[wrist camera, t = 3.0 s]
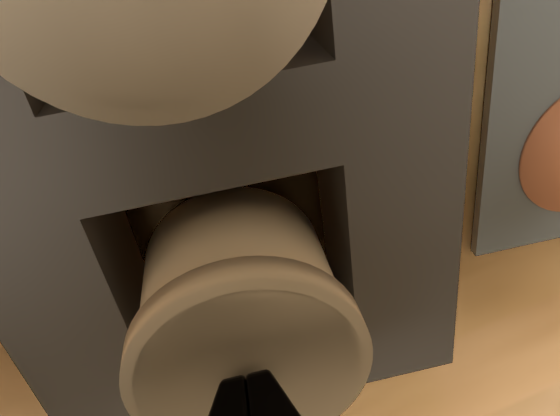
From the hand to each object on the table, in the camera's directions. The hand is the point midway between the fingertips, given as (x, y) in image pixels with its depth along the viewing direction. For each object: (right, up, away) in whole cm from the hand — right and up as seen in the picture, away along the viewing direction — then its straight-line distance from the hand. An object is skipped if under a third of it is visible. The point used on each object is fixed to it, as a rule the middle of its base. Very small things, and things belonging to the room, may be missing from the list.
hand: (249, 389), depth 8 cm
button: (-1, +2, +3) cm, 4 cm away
